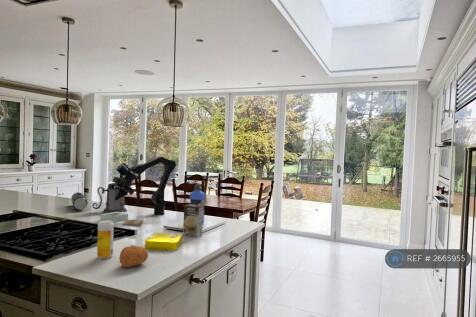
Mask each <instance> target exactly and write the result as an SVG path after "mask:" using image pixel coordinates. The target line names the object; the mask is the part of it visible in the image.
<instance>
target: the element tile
mask: <svg viewBox="0 0 476 317" xmlns="http://www.w3.org/2000/svg"><path fill="white" fill-rule="evenodd" d="M182 244H183V233H182V234H181V233H165V232H164V233H162V232H161V233H160V232H154V233H152V234H150V236H149V237H148V236H147V238H146V239H145V240H144V248H145V249H146V250H147V251H148V250H151V251H172V252H174V251H175V252H176V251H178V249H179V248H180V246H181V245H182Z"/></svg>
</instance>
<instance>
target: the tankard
mask: <svg viewBox="0 0 476 317" xmlns="http://www.w3.org/2000/svg"><path fill="white" fill-rule="evenodd" d="M107 184H108V185H107V187H106V189H105V188H104V187H103V186H99V187H98V188H97V189H96V190H97V194H98V195H99V199H100V200H99V204H98V203H96V202H93V203H92V208H93V209H94V210H98V209H100V208H101V206H102V203H103V199H102V198H103V197H102V195H103V194H105V192H106V200H105V208H104V209H103V211H102V214H106V213H112V212H121V213H127V212H128V210H127V208H126V207H125V205H126V202H125V196H124V197H122V198H120V209H116V210H111V209H109V196H110V190H111V189H110V188H109V187H108V186H109V185H110V184H115V185H116V184H117V183H115V182H111V183H107ZM116 186H117V185H116ZM117 187H118V186H117ZM100 189H101V190H102V192H100ZM101 194H102V195H101Z"/></svg>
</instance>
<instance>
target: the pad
mask: <svg viewBox="0 0 476 317" xmlns="http://www.w3.org/2000/svg"><path fill="white" fill-rule="evenodd" d="M143 222H144V220H143V219H128V220H124V222H123V223H122V225H123V226H131V227H141V226H142V225H143Z"/></svg>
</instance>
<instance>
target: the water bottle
mask: <svg viewBox="0 0 476 317" xmlns="http://www.w3.org/2000/svg"><path fill="white" fill-rule="evenodd" d="M201 186H202V185H201V184H200V183H196V184H195V185H194V187H193V188H194V190H193V191H191V192H190V193H189V199H190V202H189V204H194V205H203V223H204V224H205V199H206V193H205V191H204V192H203V191H202V187H201Z"/></svg>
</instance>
